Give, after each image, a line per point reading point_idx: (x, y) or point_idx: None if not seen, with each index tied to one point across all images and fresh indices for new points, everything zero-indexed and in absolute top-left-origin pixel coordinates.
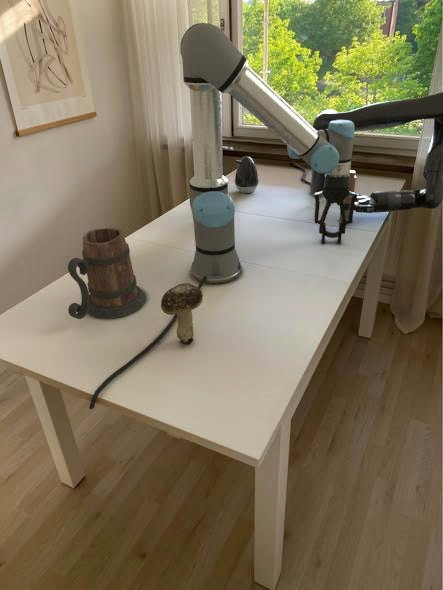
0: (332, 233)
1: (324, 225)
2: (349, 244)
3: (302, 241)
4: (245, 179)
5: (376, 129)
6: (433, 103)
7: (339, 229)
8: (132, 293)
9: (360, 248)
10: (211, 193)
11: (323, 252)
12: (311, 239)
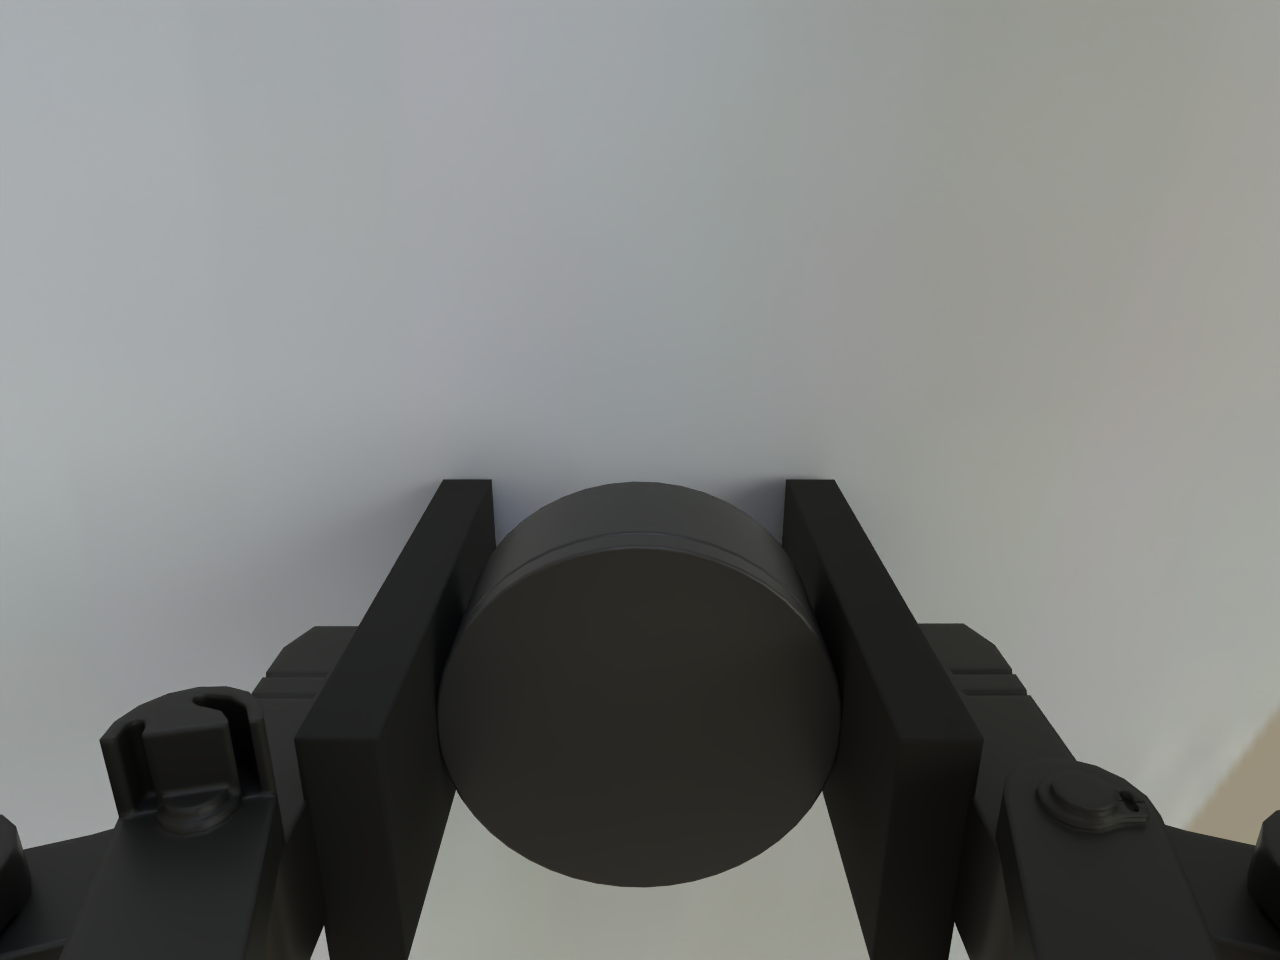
0: (632, 866)
1: (359, 948)
2: (991, 614)
3: (48, 531)
4: None
5: None
6: None
7: (842, 772)
8: None
9: (1144, 751)
10: None
11: (481, 906)
12: (225, 428)
